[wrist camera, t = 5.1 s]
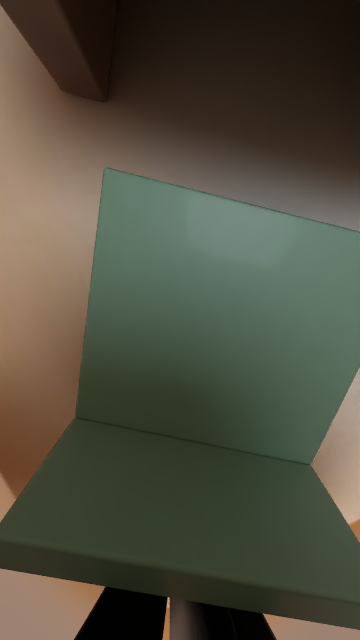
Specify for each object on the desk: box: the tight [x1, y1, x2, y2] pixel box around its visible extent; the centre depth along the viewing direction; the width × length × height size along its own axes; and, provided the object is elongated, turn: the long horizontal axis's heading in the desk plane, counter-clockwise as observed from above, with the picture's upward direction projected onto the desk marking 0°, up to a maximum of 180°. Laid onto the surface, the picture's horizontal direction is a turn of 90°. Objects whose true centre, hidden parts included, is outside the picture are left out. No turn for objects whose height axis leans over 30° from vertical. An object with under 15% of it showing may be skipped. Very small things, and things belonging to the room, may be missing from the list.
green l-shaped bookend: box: [0, 168, 360, 630], centre depth 6 cm, size 7×7×6 cm
